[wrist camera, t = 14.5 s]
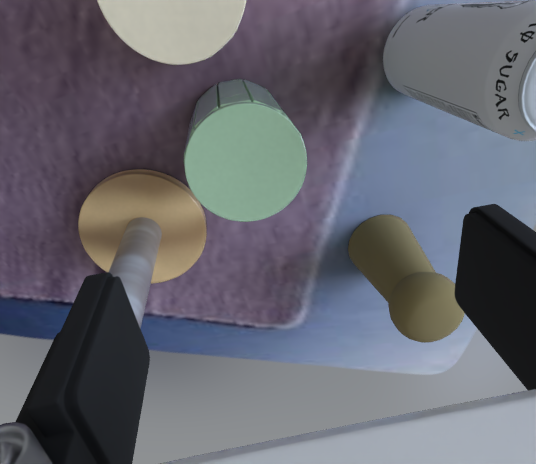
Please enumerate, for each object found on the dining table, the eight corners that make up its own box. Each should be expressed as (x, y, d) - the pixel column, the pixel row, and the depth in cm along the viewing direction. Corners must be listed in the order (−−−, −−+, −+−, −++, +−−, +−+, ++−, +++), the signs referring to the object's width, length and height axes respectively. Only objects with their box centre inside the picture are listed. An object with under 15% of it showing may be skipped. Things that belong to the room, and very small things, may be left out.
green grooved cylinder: (181, 88, 29) (170, 115, 21) (277, 72, 30) (300, 93, 22) (202, 179, 33) (199, 231, 25) (288, 163, 33) (312, 210, 25)
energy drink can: (468, 11, 29) (680, 9, 16) (442, 98, 32) (603, 157, 19) (390, -2, 28) (546, -15, 15) (369, 89, 31) (485, 145, 18)
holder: (62, 181, 31) (-33, 288, 19) (191, 158, 32) (178, 249, 19) (105, 285, 36) (51, 424, 24) (217, 264, 37) (219, 391, 24)
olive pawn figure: (348, 276, 39) (393, 362, 29) (347, 220, 36) (396, 295, 26) (409, 266, 39) (474, 347, 30) (413, 209, 36) (486, 280, 27)
